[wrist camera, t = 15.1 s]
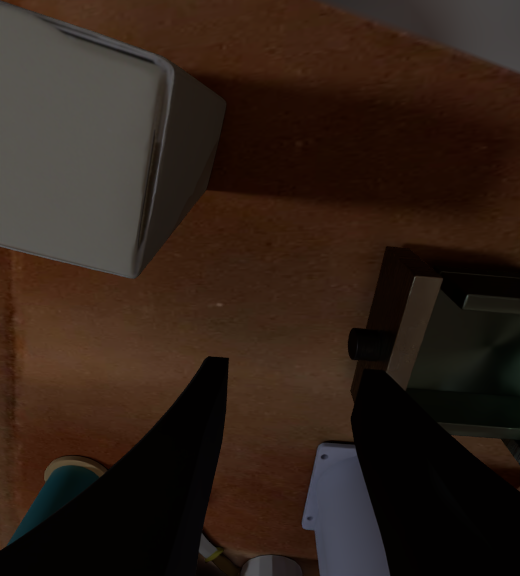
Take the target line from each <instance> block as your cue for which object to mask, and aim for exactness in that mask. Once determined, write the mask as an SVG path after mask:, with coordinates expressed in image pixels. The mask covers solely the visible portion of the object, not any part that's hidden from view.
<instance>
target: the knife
mask: <svg viewBox="0 0 520 576" xmlns="http://www.w3.org/2000/svg"><path fill="white" fill-rule="evenodd" d="M223 551H224V549H223V548H221V547H216V548H215V547H214V546H213V545H212V544H211V543H210V542H209V541H208V540H207V539H206V538H205V536H204V535H203V534H202V535H201V540H200V547H199V553H200V554H202V555H203V556H204V557H205V563H207V562H209V561H211V560H212V561H213V563H214V564H215V565H216V566H217V567H218V568H219V569H220V570H221V571H223V572H224V573H225V574H227V575H228V576H237V575H238V573H239V571H240V567H237V566H235V565H234V564H232V563H231V562H230V561H229V560H228V559H227V558H226V557H225V556H223V555H222V554H221V553H222V552H223Z"/></svg>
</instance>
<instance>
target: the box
mask: <svg viewBox="0 0 520 576" xmlns="http://www.w3.org/2000/svg"><path fill="white" fill-rule="evenodd" d="M225 110H226V101H225V100H224V99H223V98H222V97H220V96H219V95H217V94H216V93H215V92H213V91H212V90H211V89H209V88H208V87H206V86H205V85H204V84H202V83H201V82H199V81H198V80H197V79H195V78H194V77H192V76H191V75H190V74H188V73H187V72H185V71H184V70H183V69H181V68H180V67H178V66H177V65H175V64H174V63H172V62H171V61H169V60H168V59H166V58H165V57H163V56H161V55H158V54H155V53H152V52H149V51H147V50H144V49H141V48H138V47H135V46H133V45H130V44H127V43H124V42H122V41H119V40H116V39H113V38H110V37H108V36H105V35H102V34H99V33H96V32H93V31H90V30H87V29H84V28H81V27H78V26H75V25H72V24H69V23H66V22H63V21H60V20H57V19H54V18H51V17H48V16H45V15H42V14H39V13H36V12H33V11H30V10H27V9H24V8H21V7H18V6H15V5H12V4H9V3H6V2H3V1H0V247H4V248H8V249H12V250H15V251H20V252H24V253H28V254H32V255H36V256H40V257H44V258H48V259H52V260H56V261H61V262H65V263H69V264H73V265H77V266H81V267H85V268H89V269H93V270H98V271H102V272H107V273H111V274H115V275H119V276H123V277H127V278H136V277H138V276H139V275H140V274H141V272H142V271H143V269H144V268H145V267H146V266H147V264H148V263H149V262H150V261H151V260H152V258H153V257H154V256H155V254H156V253H157V252H158V251H159V249H160V248H161V247H162V245H163V244H164V243H165V242H166V240H167V239H168V238H169V236H170V235H171V234H172V232H173V231H174V230H175V229H176V227H177V226H178V225H179V224H180V223H181V221H182V220H183V219H184V217H185V216H186V215H187V213H188V212H189V211H190V209H191V208H192V207H193V206H194V204H195V203H196V202H197V201H198V200H199V198H200V197H201V196H202V195H203V193H204V192H205V191H206V189H207V186H208V182H209V178H210V175H211V171H212V167H213V163H214V159H215V155H216V151H217V147H218V142H219V138H220V134H221V129H222V124H223V119H224V115H225Z"/></svg>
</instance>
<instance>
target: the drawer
mask: <svg viewBox="0 0 520 576" xmlns="http://www.w3.org/2000/svg"><path fill="white" fill-rule="evenodd" d="M348 352H349V356H350V358H351V359H352V360H358V362H357V366H356V370H355V374H354V378H353V382H352V386H351V390H350V392H351V395H352V398H353V401H354V404H355V400H356V396H357V393H358V389H359V385H360V381H361V377H362V373H363V370H364V369H376V370H384V371H385V372H386V373H388V374H389V375H390V376H391V377H392V378H393V379H394V380H395V381H396V382H397V383H398V384H399V385H400V386H401V387H402V388H403V389H404V390H405V391H406V392H407V393H408V394H409V395H410V396H411V397H412V398H413V399H414V400H415V401H416V402H417V403H418V404H419V405H420V406H421V407H422V408H423V409H424V410H425V411H426V412H427V413H428V414H429V415H430V416H431V417H432V418H433V419H434V420H435V421H436V422H437V423H438V424H439V425H440V426H441V427H442V428H444V429H445V430H446V431H447V432H448V433H449V434H450V435H459V436H472V437H485V438H499V439H512V440H520V273H516V272H504V271H492V270H480V269H469V268H457V267H445V266H434V267H433V269H432V268H431V267H430V266H429V265H428V264H427V263H425V262H424V261H423V260H422V259H421V258H420V257H419V256H417V255H416V254H415V253H414V252H413V251H412V250H411V249H409V248H401V247H390V246H387V247H386V249H385V253H384V257H383V261H382V265H381V270H380V274H379V278H378V282H377V286H376V290H375V294H374V298H373V302H372V306H371V310H370V314H369V318H368V322H367V326H366V329H361V328H352V329H351V331H350V334H349V339H348Z"/></svg>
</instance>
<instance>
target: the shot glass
mask: <svg viewBox="0 0 520 576" xmlns="http://www.w3.org/2000/svg"><path fill="white" fill-rule="evenodd" d="M240 576H303V574H302V570H301V567H300V566H299V565H298V564H297V563H296V562H295V561H294V560H291V559H289V558H287V557H284V556H277V555H265V556H258V557H256V558H253V559H250V560H249V561H247V562H246V563H245V564H244V565H243V567H242V570H241V574H240Z"/></svg>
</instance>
